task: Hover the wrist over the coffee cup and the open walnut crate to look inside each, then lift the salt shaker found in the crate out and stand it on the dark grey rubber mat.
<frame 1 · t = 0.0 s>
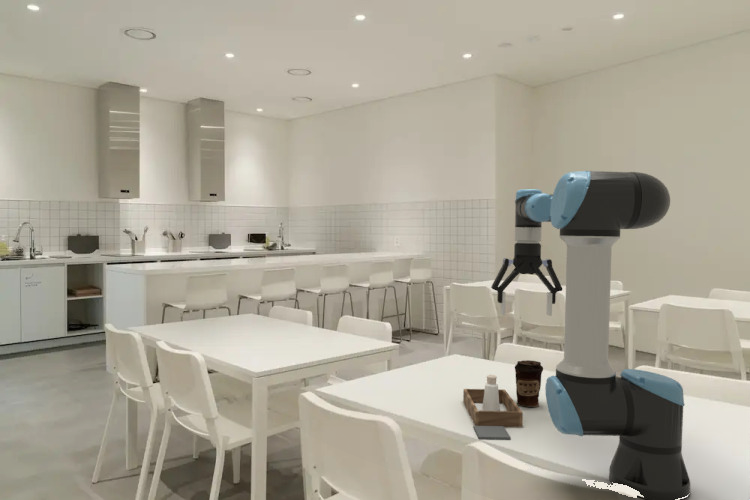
hand: (525, 314, 165), 28 cm above the table, fingers open, 13 cm apart
crate: (490, 413, 161), on the table
mat: (491, 433, 145), on the table
salt shaker: (490, 414, 161), resting in crate
coffee cup: (527, 405, 169), on the table
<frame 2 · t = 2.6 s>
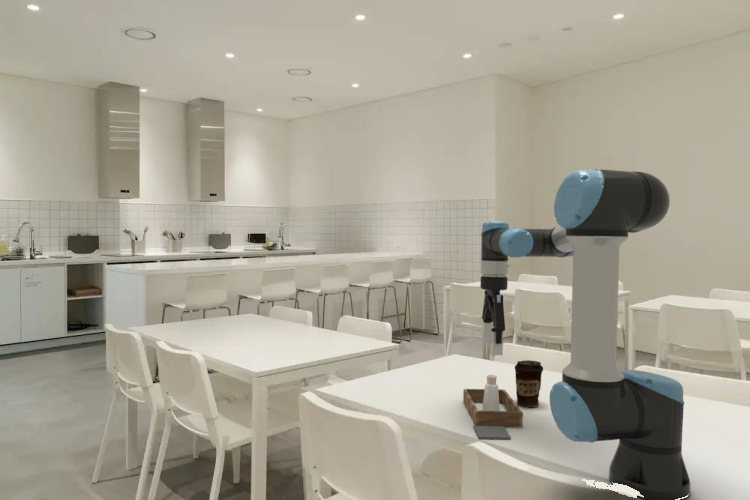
hand: (492, 349, 160), 18 cm above the table, fingers open, 13 cm apart
nothing on the table moved.
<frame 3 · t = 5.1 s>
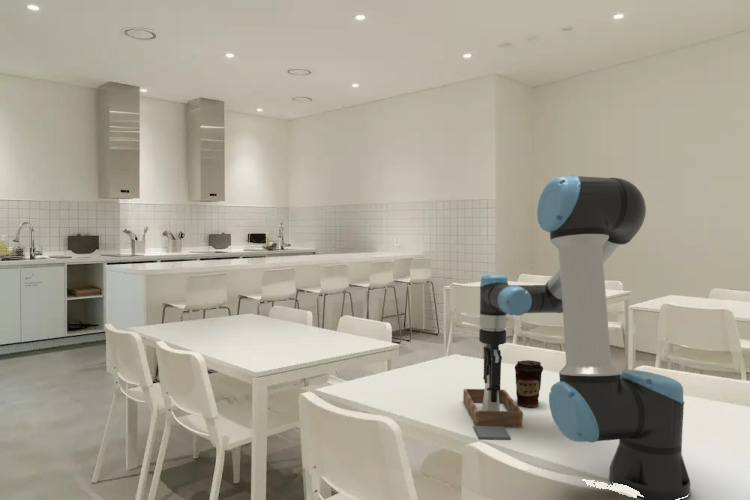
hand: (490, 409, 161), 1 cm above the table, fingers closed on salt shaker, 4 cm apart
salt shaker: (490, 414, 161), resting in crate, touching gripper
everything else where it was.
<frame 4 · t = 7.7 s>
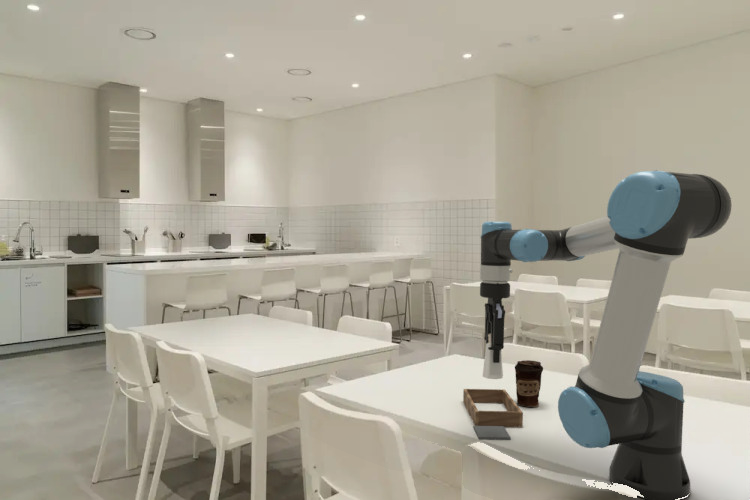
hand: (493, 372, 144), 16 cm above the table, fingers closed on salt shaker, 4 cm apart
salt shaker: (492, 377, 144), point 15 cm above the table, touching gripper
everything else where it was.
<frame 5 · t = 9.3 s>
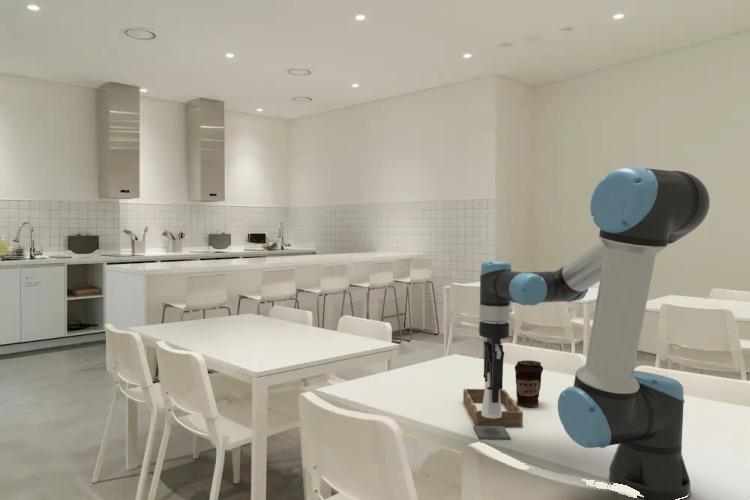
hand: (491, 410, 145), 6 cm above the table, fingers closed on salt shaker, 4 cm apart
salt shaker: (491, 416, 145), point 5 cm above the table, touching gripper
everything else where it was.
when the fingers open (3 cm above the table, at t = 10.5 s): salt shaker drops 1 cm, resting on mat.
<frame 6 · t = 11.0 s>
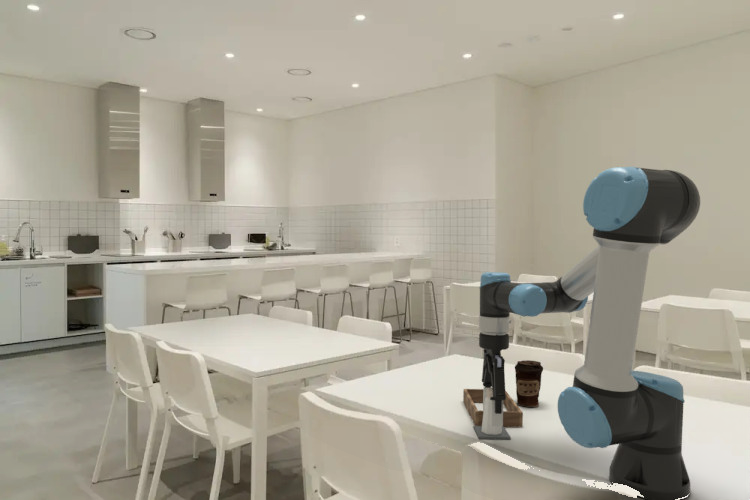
hand: (492, 418, 144), 4 cm above the table, fingers open, 10 cm apart
salt shaker: (491, 432, 145), resting on mat
everything else where it was.
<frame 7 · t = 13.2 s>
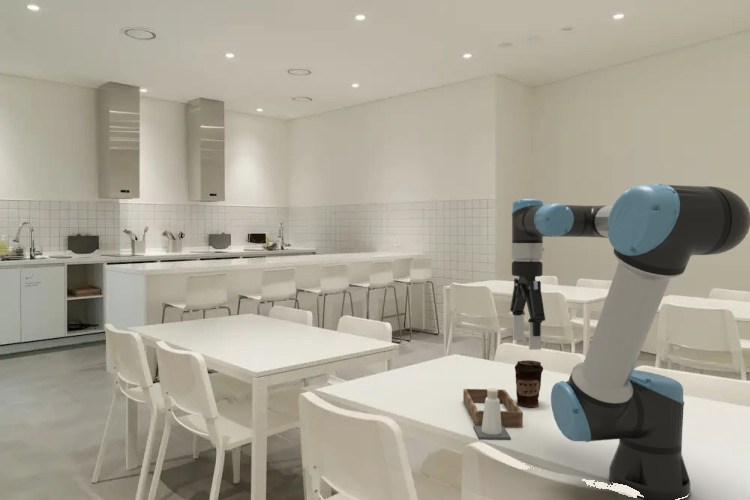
hand: (526, 344, 142), 24 cm above the table, fingers open, 13 cm apart
nothing on the table moved.
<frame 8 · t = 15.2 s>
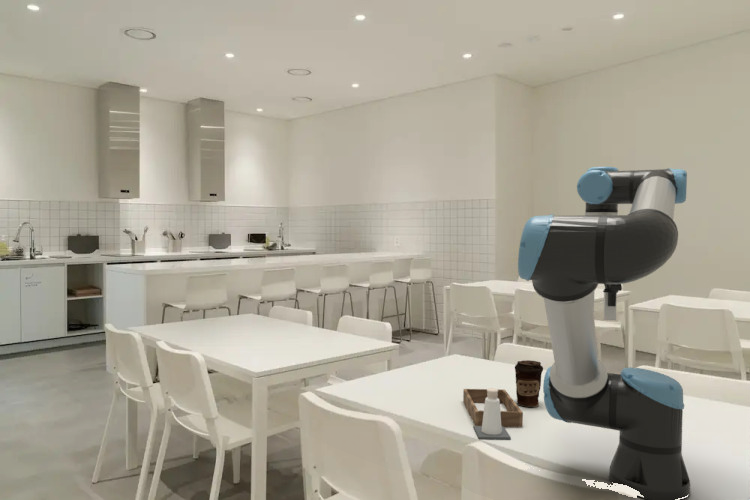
hand: (598, 315, 139), 32 cm above the table, fingers open, 13 cm apart
nothing on the table moved.
at the end: salt shaker inside the target area on the mat (0.1 cm from its centre), point 0.4 cm above the mat's base; salt shaker tilted 0°; the gripper is holding nothing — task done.
